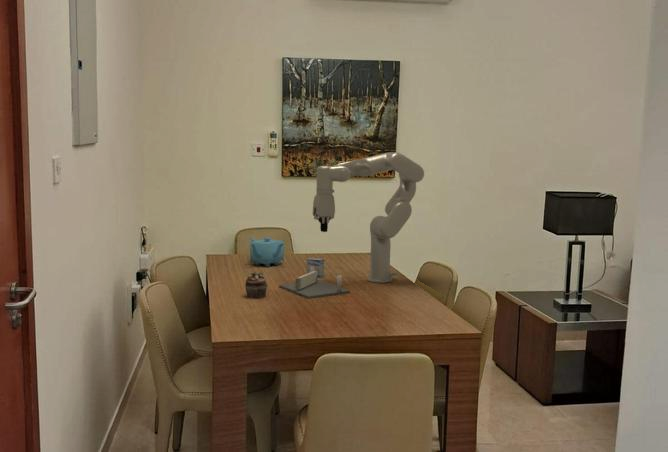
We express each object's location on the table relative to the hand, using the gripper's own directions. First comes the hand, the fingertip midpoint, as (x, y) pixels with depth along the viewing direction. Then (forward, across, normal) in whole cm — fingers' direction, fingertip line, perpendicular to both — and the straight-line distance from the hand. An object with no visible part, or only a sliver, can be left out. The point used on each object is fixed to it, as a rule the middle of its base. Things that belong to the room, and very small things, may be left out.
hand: (323, 231), depth 301 cm
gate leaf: (+23, +12, +5) cm, 27 cm away
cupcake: (+25, +39, +6) cm, 47 cm away
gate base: (+25, +11, +9) cm, 29 cm away
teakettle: (+25, +2, -53) cm, 59 cm away
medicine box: (+25, -6, -16) cm, 31 cm away
